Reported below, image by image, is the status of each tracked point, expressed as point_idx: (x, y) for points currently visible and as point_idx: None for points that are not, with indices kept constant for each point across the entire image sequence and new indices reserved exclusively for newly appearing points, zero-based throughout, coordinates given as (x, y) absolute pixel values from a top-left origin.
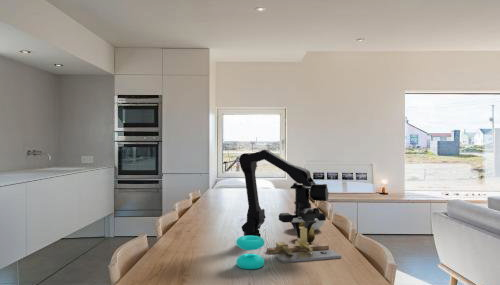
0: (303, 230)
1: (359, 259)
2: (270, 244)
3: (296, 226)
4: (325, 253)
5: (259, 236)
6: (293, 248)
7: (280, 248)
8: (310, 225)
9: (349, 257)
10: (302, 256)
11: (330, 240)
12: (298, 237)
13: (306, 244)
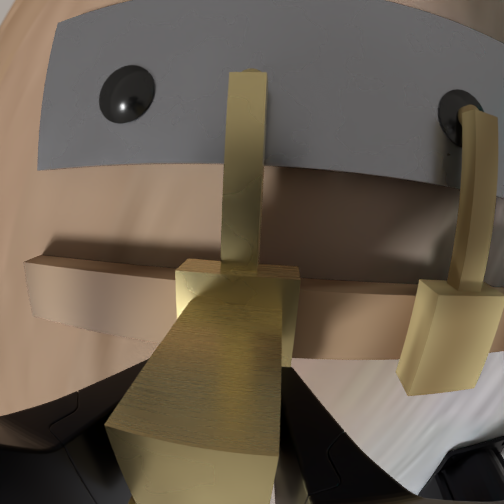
0: (200, 412)
1: (15, 16)
2: (383, 468)
3: (385, 493)
4: (125, 65)
5: (451, 498)
6: (356, 292)
7: (483, 286)
8: (15, 428)
9: (26, 46)
10: (374, 43)
11: (17, 401)
12: (291, 371)
13: (213, 269)
